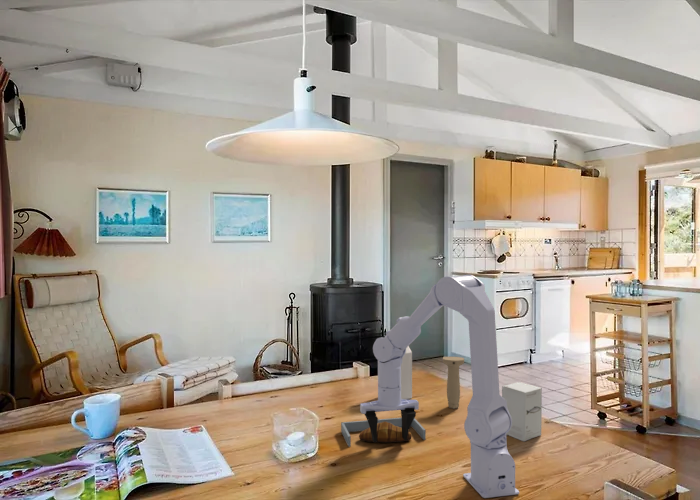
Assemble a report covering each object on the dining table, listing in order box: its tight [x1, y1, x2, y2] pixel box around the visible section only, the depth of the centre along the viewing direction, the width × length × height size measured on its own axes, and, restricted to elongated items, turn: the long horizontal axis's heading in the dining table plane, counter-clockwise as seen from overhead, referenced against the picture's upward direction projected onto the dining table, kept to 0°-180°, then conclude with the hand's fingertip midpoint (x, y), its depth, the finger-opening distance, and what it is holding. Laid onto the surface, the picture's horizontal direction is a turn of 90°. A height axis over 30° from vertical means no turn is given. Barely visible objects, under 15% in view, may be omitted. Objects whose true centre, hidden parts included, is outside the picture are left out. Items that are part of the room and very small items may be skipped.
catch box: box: [340, 417, 427, 447], centre depth 125 cm, size 10×20×2 cm, turn 102°
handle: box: [442, 356, 465, 409], centre depth 147 cm, size 5×6×15 cm
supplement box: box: [501, 381, 543, 442], centre depth 126 cm, size 7×7×13 cm
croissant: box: [358, 421, 413, 444], centre depth 122 cm, size 14×7×5 cm, turn 91°
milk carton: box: [401, 345, 413, 400], centre depth 156 cm, size 7×7×19 cm
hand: (389, 439), depth 119 cm, fingers open, 7 cm apart
